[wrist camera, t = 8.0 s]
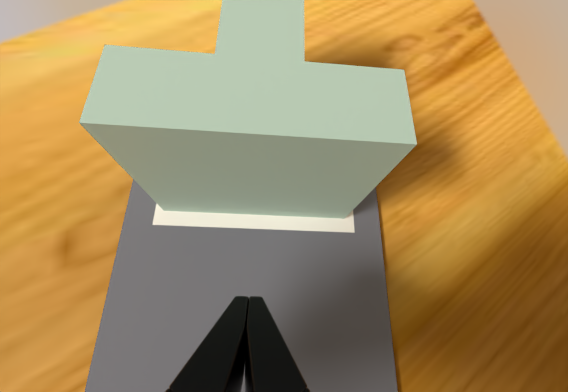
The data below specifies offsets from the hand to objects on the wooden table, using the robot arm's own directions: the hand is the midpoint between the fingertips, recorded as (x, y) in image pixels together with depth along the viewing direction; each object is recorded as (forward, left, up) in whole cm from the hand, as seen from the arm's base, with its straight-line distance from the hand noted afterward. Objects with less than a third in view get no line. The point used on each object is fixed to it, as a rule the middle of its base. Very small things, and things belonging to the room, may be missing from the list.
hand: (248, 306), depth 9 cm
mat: (+3, -3, -6) cm, 7 cm away
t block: (+7, -7, -6) cm, 11 cm away
